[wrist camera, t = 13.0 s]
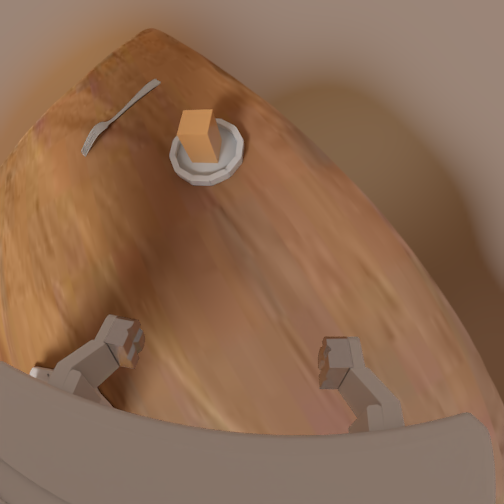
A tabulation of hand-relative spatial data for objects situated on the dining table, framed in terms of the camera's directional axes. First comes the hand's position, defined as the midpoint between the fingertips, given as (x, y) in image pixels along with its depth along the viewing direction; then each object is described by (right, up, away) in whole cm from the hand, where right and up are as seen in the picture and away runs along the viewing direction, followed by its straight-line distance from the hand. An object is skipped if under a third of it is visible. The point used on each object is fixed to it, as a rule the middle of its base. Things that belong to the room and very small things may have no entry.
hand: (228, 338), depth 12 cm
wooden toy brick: (-6, +19, +29) cm, 35 cm away
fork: (-24, +29, +33) cm, 50 cm away
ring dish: (-6, +19, +29) cm, 35 cm away
